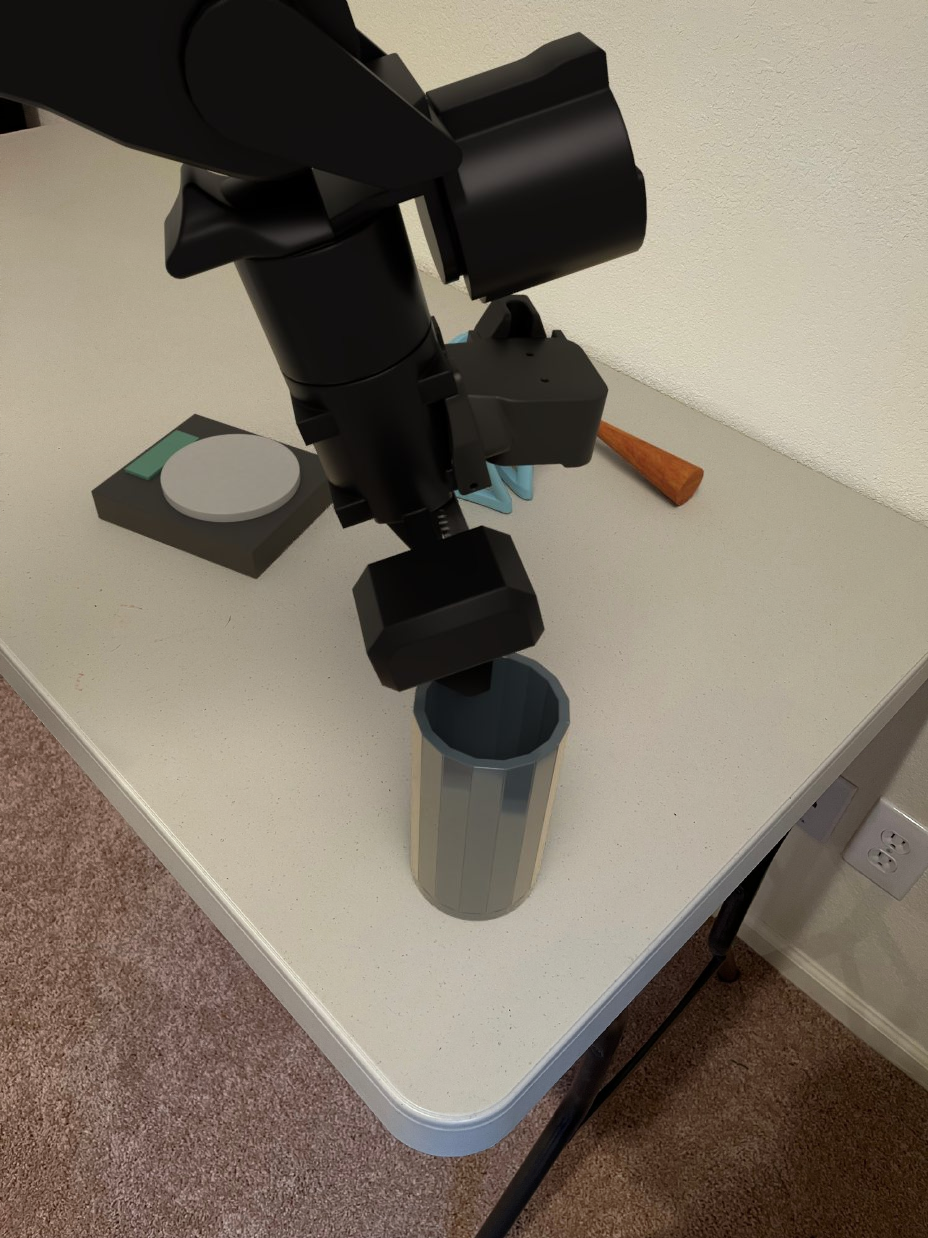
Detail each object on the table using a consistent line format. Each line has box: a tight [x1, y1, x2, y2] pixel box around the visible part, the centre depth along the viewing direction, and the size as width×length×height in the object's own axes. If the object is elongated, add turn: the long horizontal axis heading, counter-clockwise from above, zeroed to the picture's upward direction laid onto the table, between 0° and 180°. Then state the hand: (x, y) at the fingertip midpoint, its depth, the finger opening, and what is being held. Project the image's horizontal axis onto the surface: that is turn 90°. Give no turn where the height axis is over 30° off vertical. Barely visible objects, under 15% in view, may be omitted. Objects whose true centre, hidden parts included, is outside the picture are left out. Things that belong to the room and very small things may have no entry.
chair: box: [447, 331, 534, 514], centre depth 69 cm, size 8×8×12 cm
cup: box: [409, 652, 571, 922], centre depth 44 cm, size 7×7×13 cm
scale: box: [90, 413, 333, 579], centre depth 68 cm, size 14×12×3 cm
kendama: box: [597, 419, 705, 506], centre depth 76 cm, size 6×6×20 cm
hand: (454, 620), depth 44 cm, fingers open, 9 cm apart
